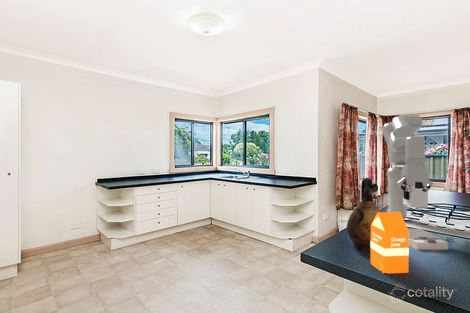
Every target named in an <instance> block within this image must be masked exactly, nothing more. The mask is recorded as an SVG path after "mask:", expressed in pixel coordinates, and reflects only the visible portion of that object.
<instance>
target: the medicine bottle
mask: <svg viewBox="0 0 470 313" xmlns="http://www.w3.org/2000/svg"><path fill="white" fill-rule="evenodd" d="M422 190H423V183H422V182H415V183H414V185H413V186H411V187H410V188H409V190H408V191H409V200H406V199H404V197H403V204H404V205H407V207H410V208H422V209H423V208H425V209H427V208H428V207H429V205H428V204H429V197H428V196H429V193H428V192H429V191H427V192H424V191H422Z"/></svg>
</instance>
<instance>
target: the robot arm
mask: <svg viewBox="0 0 470 313" xmlns="http://www.w3.org/2000/svg"><path fill="white" fill-rule="evenodd" d="M422 127H423V119H422V117H421V116H420V115H417V114H410V115H409V114H408V115H397V116H396V117H394V118H393V119H392V121H391V122H387V123H385V124H384V125H383V127H382V134H383V137H384V140H385V143H386V145H387V155H388V163H389V165H391V167H389V168H388V169H387V171H386V179H387V185H388V190H387V192H388V204H387V205H388V208H387V209H386V212H401V214H402V217H403V219H405V218H407V216H408V206H407V205H404V204H403V197H404V199H406V200H409V191H408V190H409V188H410V187H411V186H413V185H414V183H415V182H422V183H423V190H422V191H424V192H429V190H430V189H431V188H432V186H433V184H434V182H433V181H432V180H430V179H429V172H428V168H427V165H426V163H428V161H427V159H426V140H425V139H426V138H425V137H424V136H421V135H420V136H419V135H416V134H417V133H418V132H419V131H420V129H421V128H422ZM413 135H415V136H413Z"/></svg>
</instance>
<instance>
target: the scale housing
mask: <svg viewBox="0 0 470 313" xmlns="http://www.w3.org/2000/svg"><path fill="white" fill-rule="evenodd" d="M408 246H410V247H411V248H413V249H415V250H419V251H420V250H421V251H423V250H449V242H448V241H446V240H444V239H442V238H440V237H438V239H412V238H410V237H409V245H408Z"/></svg>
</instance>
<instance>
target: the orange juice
mask: <svg viewBox="0 0 470 313" xmlns="http://www.w3.org/2000/svg"><path fill="white" fill-rule="evenodd" d="M408 229H409V228H408V226H407V224H406V221H404V219H403V217H402V214H401V212H387V211H383V212H382V211H380V212H377V215H376V217H375V218H374V220H373V222H372V224H371V251H370V264H371V266H373V267H375V268H376V269H377V270H379V271H380V272H381V271H382V272H381V273H383V274H384V273H387V274H403V273H405V274H406V273H409V256H410V255H409V254H410V253H409V250H410V248H409V246H410V245H409V230H408Z"/></svg>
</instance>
